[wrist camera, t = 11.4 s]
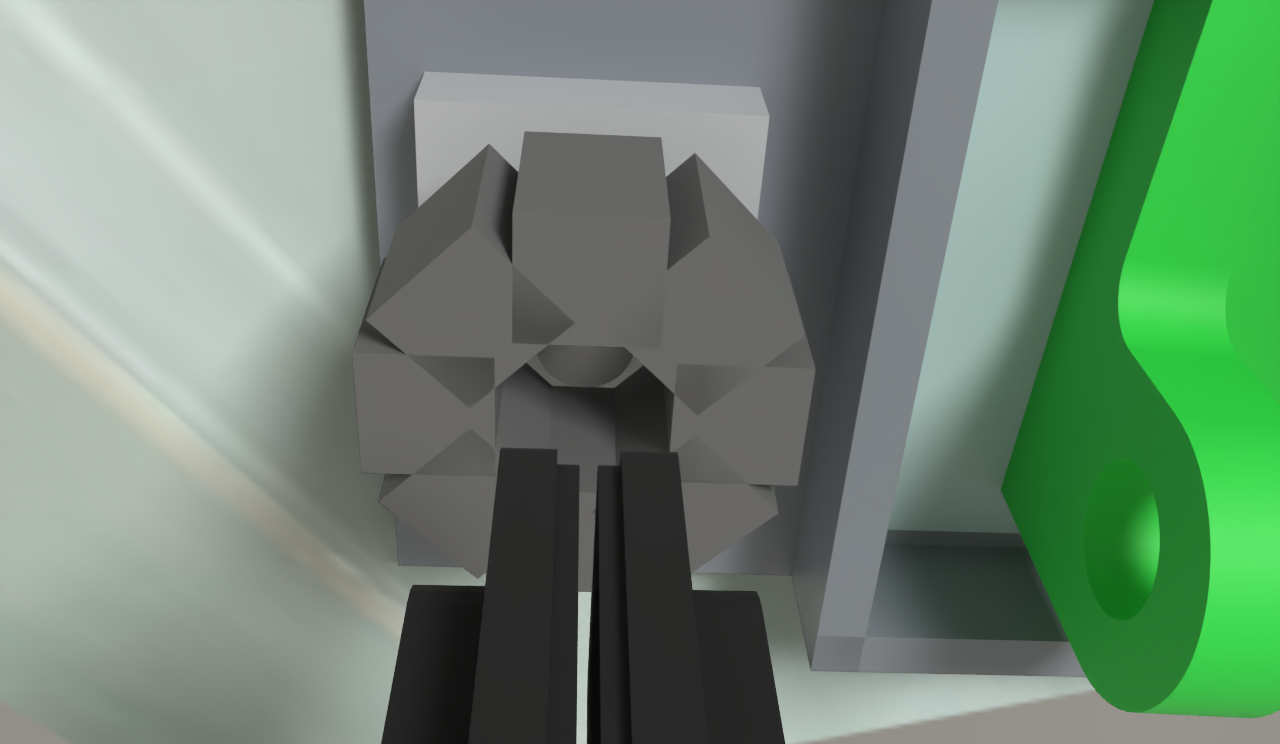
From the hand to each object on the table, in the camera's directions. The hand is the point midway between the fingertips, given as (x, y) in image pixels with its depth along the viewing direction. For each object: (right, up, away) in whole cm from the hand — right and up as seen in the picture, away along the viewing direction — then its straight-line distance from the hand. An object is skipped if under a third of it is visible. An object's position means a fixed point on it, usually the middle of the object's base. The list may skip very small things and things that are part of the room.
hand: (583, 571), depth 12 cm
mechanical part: (+12, +4, +12) cm, 18 cm away
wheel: (0, +3, +9) cm, 9 cm away
